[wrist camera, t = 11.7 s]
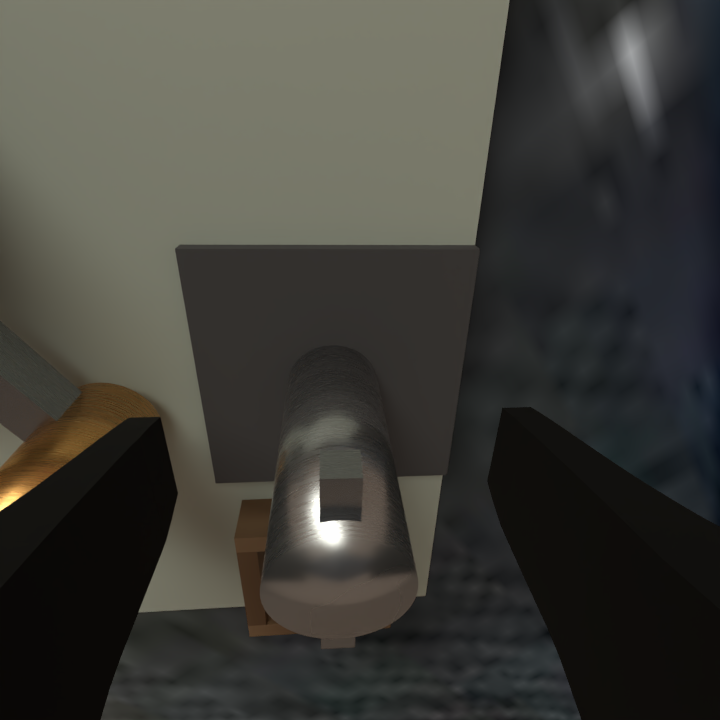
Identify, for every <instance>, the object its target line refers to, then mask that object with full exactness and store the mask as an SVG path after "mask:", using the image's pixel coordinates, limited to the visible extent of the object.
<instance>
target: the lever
mask: <svg viewBox="0 0 720 720" xmlns="http://www.w3.org/2000/svg"><path fill="white" fill-rule="evenodd" d="M133 417H160V416H159V414H158V412H157V411H156V409H155V408H154V406H153V405H152V404H151V403H150V402H149V401H148V400H147V399H145V398H144V397H143V396H141V395H140V394H138V393H137V392H135V391H133V390H131V389H129V388H126V387H123V386H120V385H116V384H111V383H90V384H86V385H82V386H80V387H76V386H75V385H73V384H72V383H71V382H70V381H69V380H68V379H67V378H65V377H64V376H63V375H62V374H61V373H60V372H59V371H57V370H56V369H55V368H54V367H53V366H52V365H51V364H49V363H48V362H47V361H46V360H45V359H44V358H43V357H41V356H40V355H39V354H38V353H37V352H36V351H35V350H33V349H32V348H31V347H30V346H29V345H28V344H26V343H25V342H24V341H23V340H22V339H21V338H20V337H18V336H17V335H16V334H15V333H14V332H13V331H12V330H10V329H9V328H8V327H7V326H6V325H5V324H4V323H2V322H1V321H0V424H1V425H3V426H4V427H5V428H7V429H8V430H9V431H11V432H12V433H13V434H15V435H16V436H17V437H18V438H20V439H21V440H22V441H24V442H23V443H22V444H21V445H20V446H19V447H18V449H17V450H16V451H15V452H14V453H13V454H12V455H11V456H10V457H9V458H8V459H7V461H6V462H5V463H4V464H3V465H2V466H1V467H0V511H1V510H3V509H4V508H5V507H7V506H8V505H10V504H11V503H13V502H14V501H16V500H17V499H18V498H20V497H21V496H23V495H24V494H26V493H27V492H29V491H30V490H31V489H33V488H34V487H36V486H37V485H38V484H40V483H41V482H42V481H44V480H45V479H46V478H48V477H49V476H50V475H52V474H53V473H54V472H56V471H57V470H58V469H60V468H61V467H63V466H64V465H65V464H67V463H68V462H69V461H71V460H72V459H73V458H75V457H76V456H77V455H79V454H80V453H81V452H83V451H84V450H85V449H86V448H88V447H89V446H90V445H92V444H93V443H94V442H96V441H97V440H98V439H100V438H101V437H102V436H104V435H105V434H106V433H108V432H109V431H110V430H112V429H113V428H115V427H116V426H117V425H119V424H120V423H122V422H123V421H125V420H126V419H128V418H133Z"/></svg>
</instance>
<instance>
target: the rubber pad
mask: <svg viewBox="0 0 720 720" xmlns="http://www.w3.org/2000/svg"><path fill="white" fill-rule="evenodd" d="M175 253H176V258H177V264H178V270H179V276H180V281H181V287H182V293H183V299H184V304H185V310H186V316H187V322H188V327H189V333H190V339H191V345H192V350H193V356H194V362H195V367H196V373H197V379H198V385H199V390H200V396H201V402H202V408H203V413H204V419H205V425H206V431H207V436H208V442H209V448H210V454H211V459H212V465H213V471H214V477H215V482H216V483H243V482H270V481H274V480H275V473H276V466H277V458H278V451H279V443H280V436H281V429H282V421H283V414H284V406H285V399H286V392H287V384H288V378H289V374H290V371H291V369H292V367H293V365H294V364H295V363H296V361H297V360H298V359H299V358H300V357H301V356H303V355H304V354H305V353H307V352H309V351H311V350H313V349H315V348H318V347H322V346H329V345H337V346H344V347H348V348H351V349H353V350H356V351H358V352H359V353H361V354H362V355H363V356H365V357H366V358H367V359H368V360H369V361H370V363H371V364H372V366H373V367H374V369H375V372H376V375H377V380H378V385H379V390H380V395H381V400H382V404H383V409H384V414H385V419H386V424H387V429H388V434H389V439H390V444H391V449H392V453H393V458H394V463H395V468H396V473H397V477H405V476H432V475H447V471H448V464H449V457H450V450H451V443H452V437H453V430H454V423H455V416H456V409H457V403H458V396H459V389H460V382H461V375H462V369H463V362H464V355H465V348H466V341H467V335H468V328H469V321H470V314H471V307H472V301H473V294H474V287H475V280H476V273H477V266H478V260H479V253H480V249H479V248H478V247H477V246H475V245H179V246H178V247H176V248H175Z"/></svg>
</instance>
